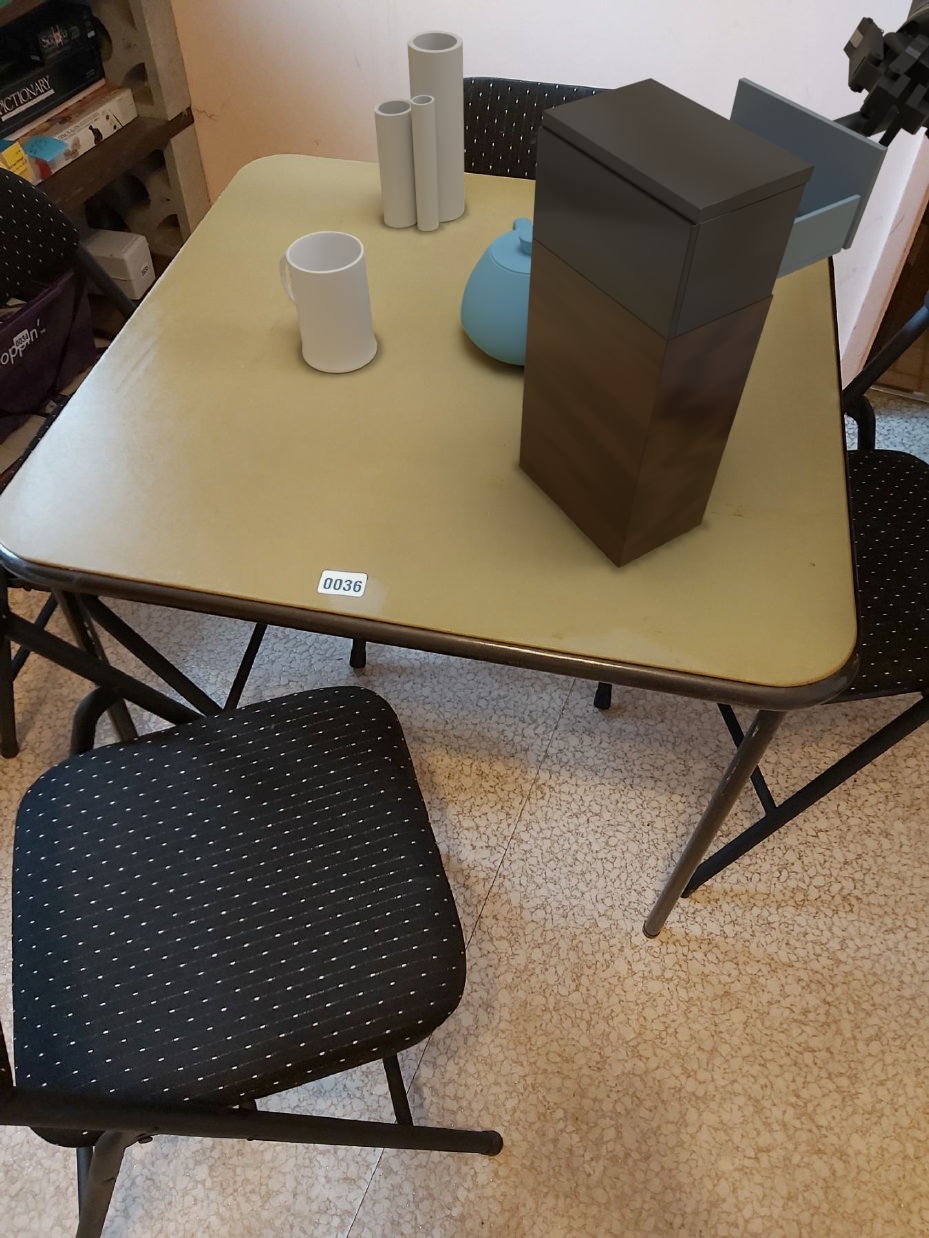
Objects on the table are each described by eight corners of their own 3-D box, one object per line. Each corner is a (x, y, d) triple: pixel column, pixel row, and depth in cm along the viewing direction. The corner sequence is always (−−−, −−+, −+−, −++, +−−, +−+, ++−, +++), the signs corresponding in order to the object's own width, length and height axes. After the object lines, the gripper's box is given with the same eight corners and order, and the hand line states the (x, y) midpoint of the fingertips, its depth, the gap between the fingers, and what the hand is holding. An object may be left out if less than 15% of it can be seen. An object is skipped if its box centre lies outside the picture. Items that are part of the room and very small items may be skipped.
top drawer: (807, 142, 73) (835, 48, 68) (939, 210, 66) (983, 112, 60) (632, 205, 67) (647, 107, 61) (757, 287, 60) (787, 186, 54)
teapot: (453, 293, 102) (451, 189, 92) (614, 283, 104) (629, 179, 93) (470, 397, 91) (470, 291, 81) (651, 384, 92) (673, 277, 82)
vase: (445, 192, 117) (440, 26, 101) (476, 213, 114) (476, 45, 98) (377, 218, 113) (361, 49, 97) (406, 240, 110) (395, 69, 94)
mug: (268, 341, 97) (246, 242, 87) (323, 308, 101) (307, 210, 91) (337, 383, 92) (321, 284, 83) (392, 348, 96) (383, 249, 86)
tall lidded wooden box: (597, 429, 87) (650, 77, 61) (701, 524, 79) (815, 165, 53) (518, 465, 84) (539, 111, 58) (618, 568, 76) (695, 210, 50)
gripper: (965, 142, 75) (931, 224, 60) (835, 62, 76) (771, 122, 61) (1036, 53, 69) (1018, 118, 54) (894, -33, 70) (839, 8, 55)
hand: (887, 120), depth 58 cm, fingers closed
